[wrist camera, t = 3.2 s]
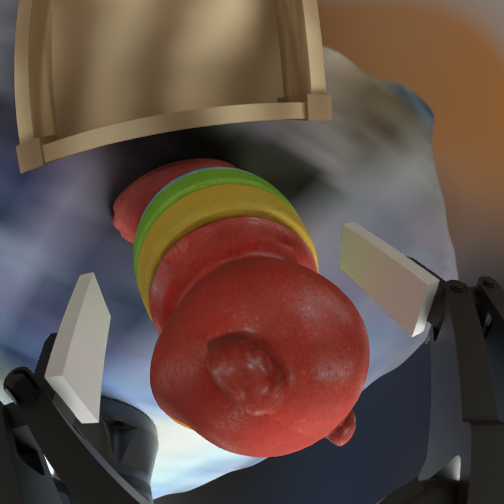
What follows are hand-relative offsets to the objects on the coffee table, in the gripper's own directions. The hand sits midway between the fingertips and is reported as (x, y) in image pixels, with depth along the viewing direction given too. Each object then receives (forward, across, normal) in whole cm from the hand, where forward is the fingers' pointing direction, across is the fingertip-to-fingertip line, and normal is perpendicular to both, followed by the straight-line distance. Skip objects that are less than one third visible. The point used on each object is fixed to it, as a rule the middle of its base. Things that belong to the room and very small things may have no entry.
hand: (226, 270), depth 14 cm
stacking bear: (+9, 0, 0) cm, 9 cm away
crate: (+8, -1, +16) cm, 18 cm away
